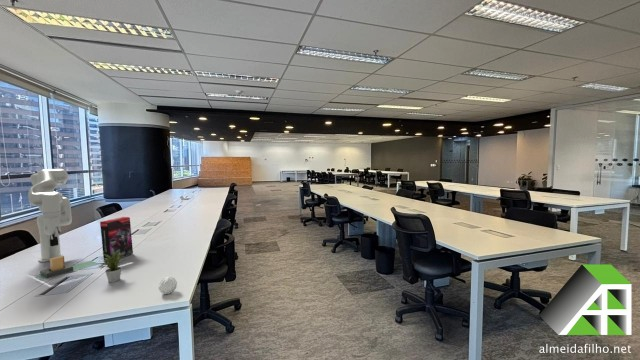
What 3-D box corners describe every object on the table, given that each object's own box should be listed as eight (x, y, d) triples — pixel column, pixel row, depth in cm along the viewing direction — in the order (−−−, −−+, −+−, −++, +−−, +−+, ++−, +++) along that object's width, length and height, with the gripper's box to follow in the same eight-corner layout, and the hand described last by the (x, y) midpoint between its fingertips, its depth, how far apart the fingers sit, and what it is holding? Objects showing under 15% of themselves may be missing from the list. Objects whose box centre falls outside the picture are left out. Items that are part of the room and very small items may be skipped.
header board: (35, 277, 156) (34, 270, 156) (90, 262, 179) (90, 256, 178) (43, 281, 150) (43, 274, 149) (99, 265, 172) (99, 259, 172)
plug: (50, 273, 157) (49, 258, 157) (63, 270, 162) (62, 255, 162) (53, 274, 156) (52, 259, 155) (65, 271, 161) (64, 256, 160)
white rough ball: (157, 298, 127) (156, 282, 127) (160, 291, 134) (159, 276, 134) (176, 294, 131) (175, 279, 130) (178, 288, 138) (177, 273, 137)
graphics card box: (110, 262, 177) (107, 221, 176) (102, 262, 179) (99, 221, 177) (133, 254, 194) (131, 216, 192) (125, 253, 195) (123, 216, 194)
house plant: (102, 276, 154) (100, 248, 153) (131, 272, 159) (129, 245, 158) (93, 287, 141) (91, 256, 140) (125, 282, 146) (123, 252, 145)
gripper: (38, 214, 157) (40, 245, 158) (48, 217, 150) (50, 249, 151) (55, 212, 163) (57, 241, 165) (65, 214, 156) (68, 245, 158)
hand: (54, 245), depth 158 cm, fingers closed
